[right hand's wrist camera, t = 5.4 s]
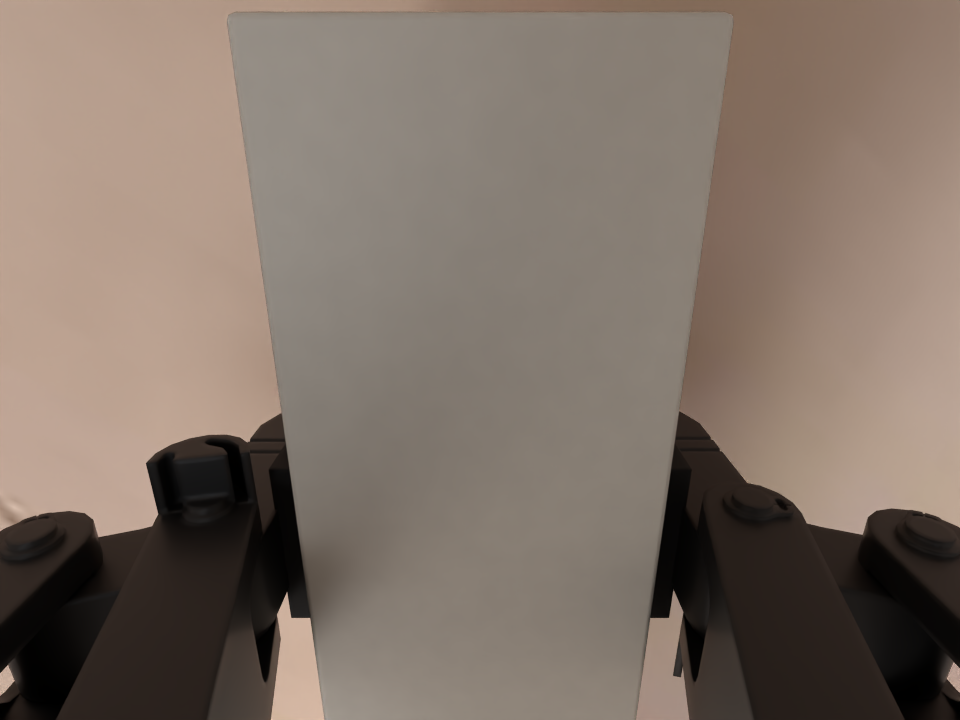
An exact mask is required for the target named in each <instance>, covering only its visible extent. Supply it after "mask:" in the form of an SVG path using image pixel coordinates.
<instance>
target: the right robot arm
mask: <svg viewBox="0 0 960 720" xmlns="http://www.w3.org/2000/svg"><path fill="white" fill-rule="evenodd" d="M146 465H147V469H148V473H149V478H150V482H151V486H152V490H153V494H154V498H155V502H156V506H157V510H158V516H157V518H156V520H155V522H154V524H153V526H152V527H148V528H144V529H140V530H135V531H129V532H124V533H119V534H114V535H109V536H103V537H98V535H97V531H96V528H95V524H94V521H93V519H91V518H90V517H89V516H87V515H86V514H85V513H79V512H72V511H66V512H56V513H46V514H41V515H39V516H37V517H36V516H33V517H30V518H27V519H24V520H22V521H21V522H19V523H17V524H15V525H12V526H10V527H8V528H5V529H3V530H2V531H0V673H1V672H2V671H3V670H4V668H5V667H6V666H7V665H9V668H10V670H11V673H12V675H13V678H14V680H15V681H14V682H13V684H12V685H11V686H10V687H9V688H8V689H7V690H6V692H5V693H3V694H2V695H1V696H0V720H271V713H272V705H273V697H274V689H275V681H276V673H277V665H278V656H279V648H280V640H281V638H280V631H279V624H278V618H277V613H278V611H279V609H280V607H281V604H282V602H283V600H284V597H285V595H286V593H287V592H288V599H289V605H290V612H291V618H310V612H309V605H308V597H307V590H306V583H305V576H304V569H303V562H302V554H301V547H300V540H299V533H298V526H297V519H296V512H295V504H294V497H293V490H292V483H291V476H290V469H289V461H288V454H287V447H286V440H285V433H284V426H283V418H282V414H279V415H277V416H276V417H274V418H272V419H271V420H269V421H267V422H266V423H264V424H262V425H261V426H260V427H259V429H258V430H257V431H256V432H255V434H254V435H253V436H252V437H251V439H250V442H248V443H247V442H245V441H244V440H243V439H241V438H239V437H234V436H230V435H206V436H201V437H195V438H190V439H187V440H184V441H181V442H178V443H175V444H172V445H170V446H168V447H166V448H165V449H163V450H161V451H159V452H157V453H156V454H155V455H154V456H153V457H152V458H151V459H150V460H149V461H148V462H147V463H146ZM673 589H674V591H675V594H676V596H677V598H678V600H679V603H680V605H681V607H682V610H683V618H682V624H681V630H680V636H679V642H678V648H677V654H676V660H675V667H674V674H673V676H677V677H681V673H682V668H683V671H684V679H685V688H686V696H687V704H688V712H689V720H960V693H959V692H958V691H957V690H956V689H955V688H954V687H953V685H952V684H951V683H950V682H949V681H948V680H947V677H948V674H949V672H950V669H951V667H952V664H953V662H954V663H955V664H956V665H957V666H958V667H959V668H960V528H959V527H958V526H955V525H953V524H951V523H948V522H946V521H944V520H941V519H940V518H939V517H936V516H933V515H930V514H927V513H925V514H923V513H922V512H919V511H914V510H901V509H886V510H879V511H876V512H874V513H873V514H872V515H870V516H869V517H868V519H867V523H866V526H865V529H864V533H863V535H860V534H855V533H849V532H844V531H839V530H834V529H829V528H823V527H819V526H815V525H811V524H807V523H806V521H805V519H804V517H803V515H802V513H801V512H800V511H799V510H798V508H797V507H796V506H795V505H794V504H793V502H791V501H790V500H788V499H786V498H785V497H783V496H782V495H780V494H779V493H777V492H774V491H772V490H769V489H767V488H764V487H762V486H759V485H754V484H749V483H747V482H746V481H745V480H744V479H743V477H742V476H741V475H740V474H739V472H738V471H737V470H736V469H735V467H734V466H733V465H732V464H731V462H730V461H729V460H728V459H727V457H726V456H725V455H724V454H723V452H722V451H720V448H719V447H718V446H717V445H716V443H715V442H714V441H713V440H711V439H710V436H709V435H708V433H707V432H706V431H705V430H704V428H703V427H702V426H701V425H700V423H698V422H696V421H695V420H693V419H691V418H690V417H688V416H686V415H685V414H683V413H681V412H679V415H678V422H677V430H676V437H675V444H674V451H673V458H672V465H671V472H670V480H669V487H668V494H667V501H666V508H665V515H664V522H663V529H662V537H661V544H660V551H659V558H658V565H657V572H656V579H655V587H654V594H653V601H652V608H651V615H650V618H669V614H670V608H671V601H672V595H673Z"/></svg>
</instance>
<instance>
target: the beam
mask: <svg viewBox="0 0 960 720" xmlns="http://www.w3.org/2000/svg"><path fill="white" fill-rule="evenodd" d="M733 22H734V21H733V15H731V14H729V13H727V12H234V13H232V14H230V15H228V19H227V25H228V32H229V39H230V46H231V54H232V61H233V68H234V75H235V82H236V89H237V96H238V104H239V111H240V118H241V125H242V132H243V139H244V147H245V154H246V161H247V168H248V175H249V182H250V189H251V197H252V204H253V211H254V218H255V225H256V232H257V240H258V247H259V254H260V261H261V268H262V275H263V283H264V290H265V297H266V304H267V311H268V318H269V325H270V333H271V340H272V347H273V354H274V361H275V368H276V376H277V383H278V390H279V397H280V404H281V411H282V418H283V426H284V433H285V440H286V447H287V454H288V461H289V469H290V476H291V483H292V490H293V497H294V504H295V512H296V519H297V526H298V533H299V540H300V547H301V554H302V562H303V569H304V576H305V583H306V590H307V597H308V605H309V612H310V619H311V626H312V633H313V640H314V647H315V655H316V662H317V669H318V676H319V683H320V690H321V698H322V705H323V712H324V719H325V720H636V715H637V708H638V701H639V694H640V686H641V679H642V672H643V665H644V658H645V651H646V644H647V637H648V629H649V622H650V615H651V608H652V601H653V594H654V587H655V579H656V572H657V565H658V558H659V551H660V544H661V537H662V529H663V522H664V515H665V508H666V501H667V494H668V487H669V480H670V472H671V465H672V458H673V451H674V444H675V437H676V430H677V422H678V415H679V408H680V401H681V394H682V387H683V380H684V372H685V365H686V358H687V351H688V344H689V337H690V330H691V323H692V315H693V308H694V301H695V294H696V287H697V280H698V273H699V265H700V258H701V251H702V244H703V237H704V230H705V223H706V215H707V208H708V201H709V194H710V187H711V180H712V173H713V166H714V158H715V151H716V144H717V137H718V130H719V123H720V116H721V108H722V101H723V94H724V87H725V80H726V73H727V66H728V58H729V51H730V44H731V37H732V30H733Z"/></svg>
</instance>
